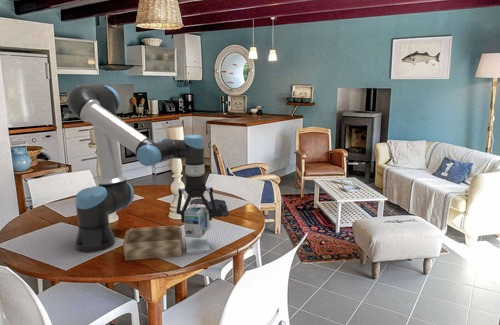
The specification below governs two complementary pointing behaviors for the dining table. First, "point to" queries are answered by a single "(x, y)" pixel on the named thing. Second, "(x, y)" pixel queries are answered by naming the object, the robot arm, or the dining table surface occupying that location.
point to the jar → (197, 201)
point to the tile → (197, 245)
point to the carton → (152, 242)
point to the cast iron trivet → (219, 208)
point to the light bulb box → (195, 221)
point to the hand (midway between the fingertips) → (196, 228)
